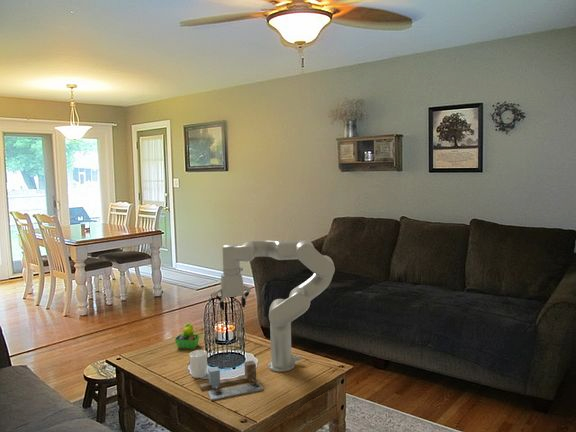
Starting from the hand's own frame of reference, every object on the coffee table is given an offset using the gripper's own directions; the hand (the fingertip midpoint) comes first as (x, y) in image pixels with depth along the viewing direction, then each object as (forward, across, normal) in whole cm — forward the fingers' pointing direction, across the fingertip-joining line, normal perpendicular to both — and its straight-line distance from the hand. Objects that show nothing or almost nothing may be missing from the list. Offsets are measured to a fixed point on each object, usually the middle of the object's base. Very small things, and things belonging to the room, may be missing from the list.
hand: (233, 308), depth 218 cm
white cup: (+28, +17, +1) cm, 33 cm away
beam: (+28, +7, +16) cm, 33 cm away
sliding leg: (+28, +13, +16) cm, 35 cm away
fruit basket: (+29, +16, -35) cm, 48 cm away
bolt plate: (+28, +6, +24) cm, 37 cm away
